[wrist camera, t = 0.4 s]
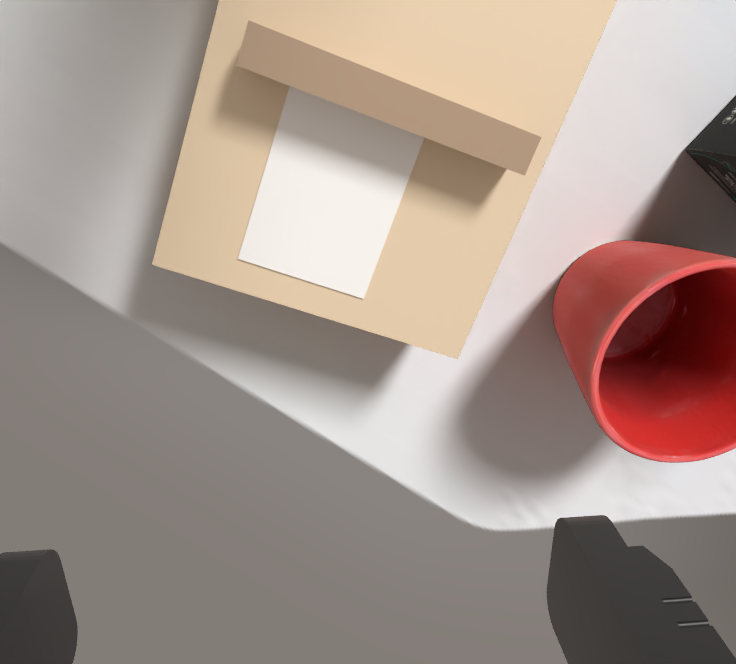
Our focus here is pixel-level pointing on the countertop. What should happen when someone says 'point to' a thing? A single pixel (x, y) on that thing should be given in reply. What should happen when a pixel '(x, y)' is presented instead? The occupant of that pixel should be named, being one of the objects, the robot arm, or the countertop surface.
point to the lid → (372, 153)
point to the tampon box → (719, 149)
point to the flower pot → (654, 346)
